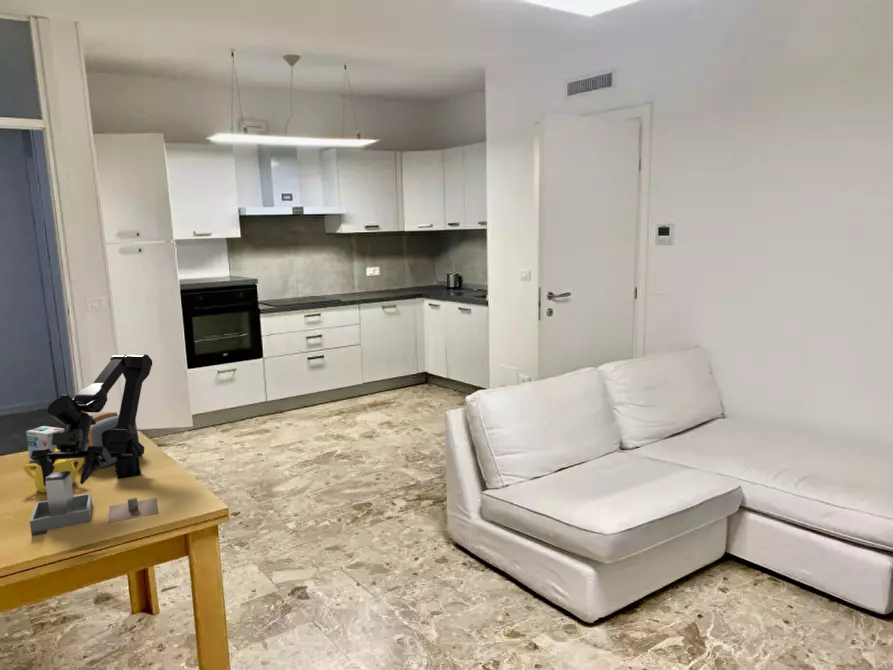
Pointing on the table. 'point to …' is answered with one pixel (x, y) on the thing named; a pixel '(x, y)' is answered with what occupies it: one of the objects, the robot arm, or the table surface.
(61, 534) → the table surface
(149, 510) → the stud base
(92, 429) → the grey toaster
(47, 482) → the strut
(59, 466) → the teapot
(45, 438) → the light bulb box
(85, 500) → the bin
